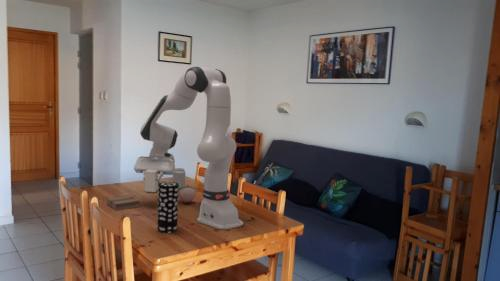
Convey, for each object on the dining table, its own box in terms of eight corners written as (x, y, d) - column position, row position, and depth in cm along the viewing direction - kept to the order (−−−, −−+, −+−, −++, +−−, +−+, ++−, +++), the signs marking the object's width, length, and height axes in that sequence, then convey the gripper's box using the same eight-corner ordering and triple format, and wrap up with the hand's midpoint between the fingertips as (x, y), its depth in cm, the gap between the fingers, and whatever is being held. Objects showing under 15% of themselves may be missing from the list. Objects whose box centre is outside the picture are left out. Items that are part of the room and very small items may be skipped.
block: (157, 189, 203) (158, 170, 202) (154, 191, 199) (155, 172, 197) (148, 188, 204) (148, 169, 203) (144, 191, 199) (145, 171, 198)
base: (139, 206, 203) (139, 201, 203) (116, 210, 195) (116, 204, 195) (129, 201, 212) (129, 195, 212) (107, 204, 204) (107, 198, 204)
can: (182, 190, 240) (182, 170, 238) (170, 189, 241) (170, 169, 240) (186, 187, 247) (187, 168, 246) (175, 186, 249) (175, 167, 247)
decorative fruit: (180, 206, 208) (181, 187, 207) (176, 201, 215) (177, 183, 214) (198, 204, 212) (198, 186, 211) (193, 200, 219) (194, 182, 218)
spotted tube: (159, 233, 168) (160, 186, 165) (155, 227, 175) (156, 182, 173) (179, 232, 171) (180, 186, 168) (174, 225, 178) (176, 181, 176)
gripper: (136, 152, 207) (129, 175, 198) (175, 154, 205) (169, 177, 197) (139, 159, 212) (132, 182, 203) (177, 162, 210) (172, 184, 202)
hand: (151, 180), depth 200 cm, fingers closed on block, 5 cm apart
